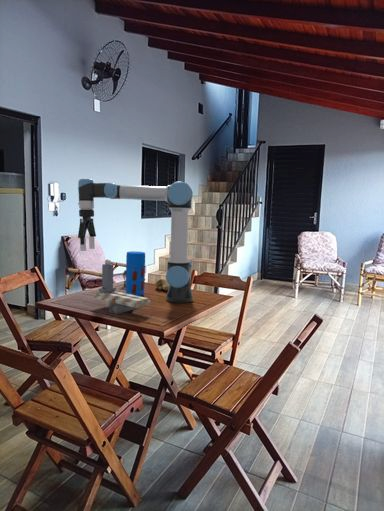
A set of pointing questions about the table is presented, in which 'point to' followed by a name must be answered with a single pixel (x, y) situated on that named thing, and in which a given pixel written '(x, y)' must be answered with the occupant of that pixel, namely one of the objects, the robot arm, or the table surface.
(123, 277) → the watch
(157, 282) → the ginger root
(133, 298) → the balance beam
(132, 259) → the thermos
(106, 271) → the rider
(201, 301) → the table surface
